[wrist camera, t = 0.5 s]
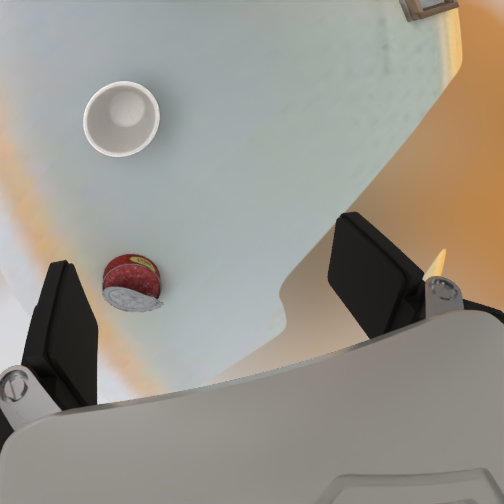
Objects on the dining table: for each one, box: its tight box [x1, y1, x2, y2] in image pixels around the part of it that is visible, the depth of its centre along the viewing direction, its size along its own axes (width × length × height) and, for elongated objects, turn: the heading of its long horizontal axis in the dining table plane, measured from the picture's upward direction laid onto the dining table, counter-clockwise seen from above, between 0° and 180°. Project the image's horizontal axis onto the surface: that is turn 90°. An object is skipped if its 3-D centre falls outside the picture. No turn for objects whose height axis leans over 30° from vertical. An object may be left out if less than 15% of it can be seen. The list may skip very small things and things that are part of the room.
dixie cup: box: [83, 81, 160, 157], centre depth 33 cm, size 8×8×10 cm
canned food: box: [102, 254, 164, 312], centre depth 50 cm, size 11×10×10 cm
